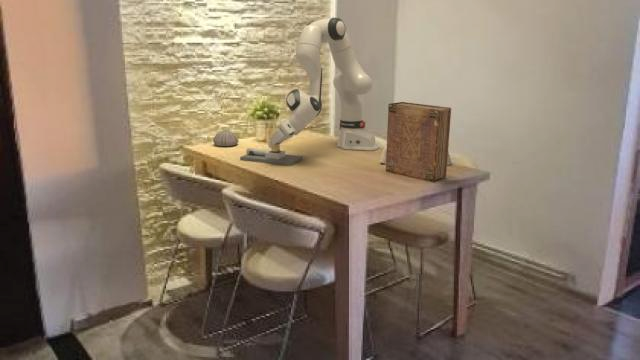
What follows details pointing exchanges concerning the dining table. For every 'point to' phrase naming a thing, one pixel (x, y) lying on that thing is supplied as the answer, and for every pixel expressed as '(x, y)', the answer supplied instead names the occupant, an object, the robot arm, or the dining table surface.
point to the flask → (449, 160)
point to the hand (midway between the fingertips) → (274, 144)
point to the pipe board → (270, 157)
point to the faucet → (383, 155)
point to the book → (418, 140)
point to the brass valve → (275, 148)
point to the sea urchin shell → (225, 138)
